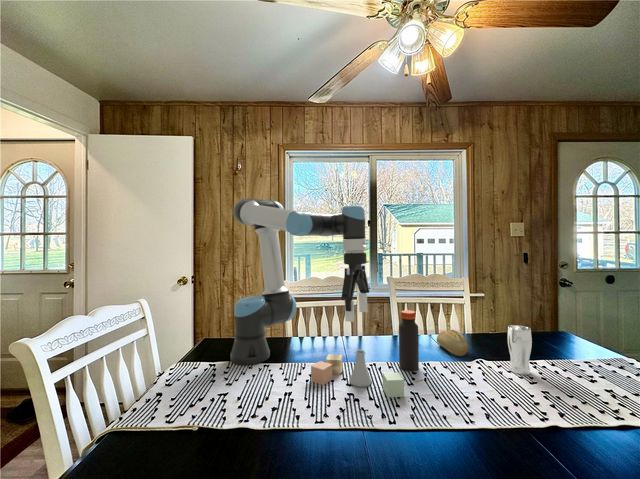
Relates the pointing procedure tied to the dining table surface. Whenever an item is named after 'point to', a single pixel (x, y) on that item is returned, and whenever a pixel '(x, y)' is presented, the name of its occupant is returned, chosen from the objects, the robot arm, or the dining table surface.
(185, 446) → the dining table surface
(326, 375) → the terracotta block
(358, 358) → the flask
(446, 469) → the dining table surface
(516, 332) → the beer glass
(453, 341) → the bread roll
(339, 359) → the maple block
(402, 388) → the sage block
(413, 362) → the bottle
